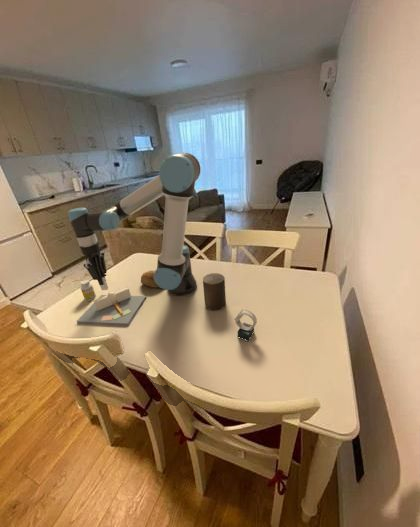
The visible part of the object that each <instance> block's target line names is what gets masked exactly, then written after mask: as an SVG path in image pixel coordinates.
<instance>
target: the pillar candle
mask: <svg viewBox="0 0 420 527" xmlns="http://www.w3.org/2000/svg"><path fill="white" fill-rule="evenodd" d="M225 279H226V278H225V276H224V275H223V274H221V273H217V272H216V273H215V272H214V273H213V272H211V273H209V274H206V275H204V276H203V277H202V284H203V296H204V305H205V307H206V308H207V309H208V310H211V311H218V310H222V309H224V308H225V307H226V304H227V300H226V298H227V297H226V281H225Z"/></svg>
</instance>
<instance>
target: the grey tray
mask: <svg viewBox="0 0 420 527" xmlns="http://www.w3.org/2000/svg"><path fill="white" fill-rule="evenodd" d="M106 295H107V294H101V295H100V296H99V297H98V298H97V299H99V298H101V297H104V296H106ZM146 299H147V295H131V297H130V298H127V299H125V300H123V301H120V302H118V303H117V305H118V307H119V308H120V310H121V311H122V312H123V314H121V313H120V312H119V310H118V309H117V308H116V306H115V305H111V306H108V307H106V308H103V309H101V310H99V311H97V309H96V307H95V304H94V302H93V304H91V305H90V307H89V308H87V310H86V311H85V312H83V314H82V315H81V316H80V317H79V318H78V319H77V320H76V323H77V324H84V325H105V326H106V325H107V326H126V327H128V326H130V324H131V322H132V321H133V319H134V317H135V316H136V315H137V313H138V312H139V310H140V309H141V307H142V306H143V304H144V302H145V301H146Z"/></svg>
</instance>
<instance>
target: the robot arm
mask: <svg viewBox="0 0 420 527" xmlns="http://www.w3.org/2000/svg"><path fill="white" fill-rule="evenodd" d="M159 166H160V167H159V170H158V171H159V172H158V175H157V176H155V177H154V178H153V179H151V180H149V181H148V182H147V183H145V184H143V185H142V186H140V187H139V188H137V189H136V190H135V191H132V192H131V193H129V195H127V196H126V197H124V198H122V199H120V200H119V201H118V202H116V203H115V204H113V205H111V206H108V207H107V208H105V209H103V210H100V211H97V212H96V211H95V212H89V211H88V208H86V207H76V208H71V209H70V210H68V212H67V215H68V219H69V222H70V225H71V227H72V230H73V232H74V234H75V237H76V240H77V242H78V245H79V249H80V251H81V253H82V255H83V256H84V257H85V261H86V262H85V263H84V264H83V267H84V268H85V269H86V270H87V272H88V274H89V275H90V276H91V279H93V280H94V281H97V282H98V285H99V286H100V290H101V291H108V290H109V286H108V284H107V279H106V276H107V274H108V273H107V267H106V260H105V252H101V247H100V244H99V242H98V237H97V235H96V232H97V231H113V230H117V229H118V228H119V226H120V223H121V222H122V221H124V220H125V219H127V218H128V217H130V216H131V215H133V214H134V213H137V212H138V211H140V210H141V209H143V208H144V207H146V206H148V205H149V204H151V203H153V202H154V201H156V200H158V199H159V198H161V197H163V196H165V204H164V216H163V217H164V218H163V230H162V232H163V233H162V246H161V253H160V254H158V256H157V264H156V269H155V270H154V271H155V272H154V276H153V278H154V281H155V283H156V284H157V285H158V286H159V288H161V289H162V290H167V291H168V293H169V294H170V295H173V296H180V297H181V296H187V295H190V294H192V293H194V291H196V289H197V288H198V284H197V280H196V278H195V276H194V274H193V273H192V272H193V270H192V264H191V255H190V253H191V252H190V248H189V247H188V246H187V245H185V244H184V243H185V235H186V234H185V233H186V228H187V227H186V225H187V218H188V208H189V203H190V202H189V201H190V200H191V199H192V198H193V197H194V192H195V187H196V186H195V185H196V182H197V180H199V177H200V175H201V165H200V162H199V160H198V158H197V157H196V156H194V155H193V154H192V153H189V152H181V153H172V154H170V155H168V157H166V158H165V159H163V161H162V163H161V164H160V165H159ZM95 231H96V232H95Z"/></svg>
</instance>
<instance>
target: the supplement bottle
mask: <svg viewBox="0 0 420 527" xmlns="http://www.w3.org/2000/svg"><path fill="white" fill-rule="evenodd" d="M90 282H91V281H90V280H89V279H84V280H82V281H80V290H81V293H82V296H83V298H84V300H85V301H87V302H88V301H92V300H95V298H96V297H97V296H96V291H95V289H94V287H93V284H92V283H90Z"/></svg>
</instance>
